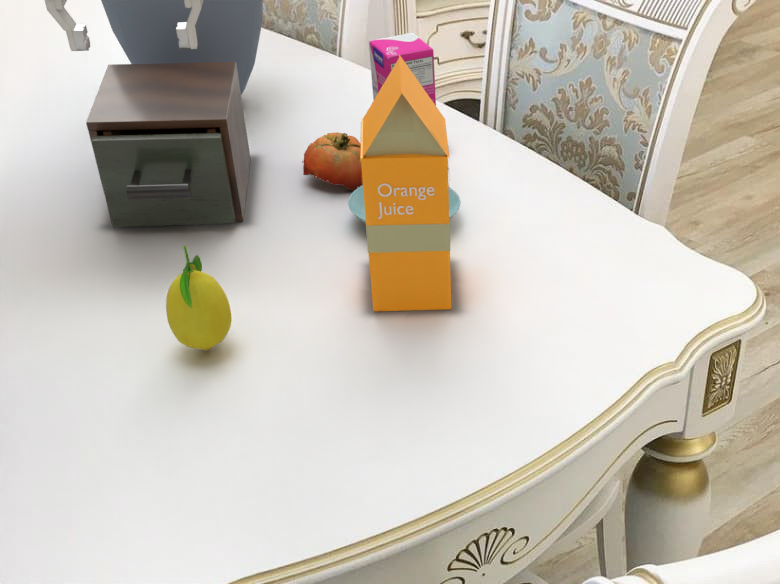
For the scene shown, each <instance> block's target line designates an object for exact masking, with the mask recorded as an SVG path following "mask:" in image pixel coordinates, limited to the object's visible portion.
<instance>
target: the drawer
mask: <svg viewBox="0 0 780 584" xmlns="http://www.w3.org/2000/svg"><path fill="white" fill-rule="evenodd" d="M103 135H104V136H93V139H92V143H91V146H92V145H93V147H92V150H93V149H94V151H93V154H94V153H95V155H94V158H95V157H96V159H95V162H96V161H97V163H96V166H97V165H98V167H97V170H98V169H99V171H98V174H99V173H100V175H99V177H100V176H101V179H100V181H101V180H102V183H101V185H102V184H103V187H102V189H103V188H104V191H103V193H104V192H105V195H104V197H105V196H106V198H105V201H106V200H107V202H106V205H107V204H108V206H107V209H108V208H109V210H108V213H109V212H110V214H109V217H110V216H111V218H110V221H111V220H112V222H111V225H112V224H113V225H112V227H113V228H120V227H121V228H122V227H123V228H124V227H156V226H183V225H184V226H185V225H213V224H214V225H216V224H235V223H236V222H235V212H234V206H233V200H232V194H231V188H230V183H229V177H228V171H227V165H226V159H225V153H224V147H223V141H222V135H221V132H220V127H213V128H173V129H133V130H104V131H103Z"/></svg>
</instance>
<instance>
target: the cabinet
mask: <svg viewBox="0 0 780 584" xmlns="http://www.w3.org/2000/svg"><path fill="white" fill-rule="evenodd" d="M96 93H97V94H96V96H95V99H94V101H93V104H92V107H91V109H90V112H89V114H88V117H87V120H86V122H85V123H86V127H87V132H88V135H89V139H90V142H91V147H92V150H93V155H94V159H95V162H96V163H95V164H96V166H97V170H98V174H99V178H100V183H101V186H102V191H103V195H104V199H105V202H106V206H107V209H108V214H109V218H110V222H111V225H112V226H113V224H112V220H111V216H110V212H109V208H108V204H107V200H106V196H105V192H104V188H103V184H102V180H101V176H100V173H99V169H98V165H97V161H96V157H95V153H94V149H93V145H92V139H93V136H104V135H103V131H104V130H133V129H173V128H213V127H220V132H221V135H222V141H223V147H224V153H225V159H226V165H227V171H228V177H229V183H230V188H231V194H232V200H233V206H234V212H235V223H236V222H244V218H245V209H246V202H247V201H246V200H247V192H248V184H249V178H250V177H249V175H250V167H251V162H252V161H251V159H252V157H251V152H250V144H249V138H248V133H247V126H246V125H247V124H246V118H245V112H244V104H243V99H242V95H241V91H240V85H239V78H238V72H237V65H236V62H213V63H162V64H131V63H122V64H121V63H120V64H119V63H118V64H117V63H115V64H113V63H112V64H107V67H106V70H105V72H104V75H103V78H102V80H101V84H100V86H99V88H98V91H97V92H96Z"/></svg>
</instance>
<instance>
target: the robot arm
mask: <svg viewBox="0 0 780 584" xmlns="http://www.w3.org/2000/svg"><path fill="white" fill-rule="evenodd" d="M67 1H68V0H44V4H45V8H46V11H47V12H48V13H49V14H50V15H51V17H52V18H53V19H54V20H55V22H56V23H57V24H58V26H60V27H61V29H62V30H63V31H64V32H65V34H66V38H67V42H68V45H69V49H70V51H71V52H89V51H90V48H91V40H90V37H89V35H87V34H88V32H89V31H88V28H87V27H88V26H87V24H86V23H77V22H76V21H75V20H74V18H73V17H72V16H71V15H70V13H69V12H68V10H67V9H66V8H65V5H66V4H67ZM184 3H185V7H186V8H191V7H192V8H191V11H190V14H189V17H188V20H187V22H179V23H178V24H177V27H176V32H177V37H178V39H179V42H178V43H179V48H180V49H197V36H196V30H195V24H196V22H197V19H198V16H199V14H200V11H201V8H202V4H203V0H184Z"/></svg>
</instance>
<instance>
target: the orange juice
mask: <svg viewBox="0 0 780 584" xmlns="http://www.w3.org/2000/svg"><path fill="white" fill-rule="evenodd" d="M447 133H448V132H447V121H446V118H445V116H444V115H443V114H442V113H441V111H440V110H439V108H438V107H437V104H436V105H435V104H434V103H433V101H432V100H431V98H430V97H429V96H428V94H427V93H426V91H425V90H424V89H423V87H422V86H421V84H420V83H419V81H418V80H417V79H416V77H415V76H414V74H413V73H412V72H411V70H410V69H409V67H408V66H407V65H406V63H405V62H404V60H403V59H402V57H401V56H400V55H399V59H398V60H397V62H396V64H395V66H394V67H393V69H392V71H391V72H390V74H389V76H388V77H387V79H386V81H385V82H384V84H383V86H382V87H381V89H380V91H379V93H378V94H377V96H376V98H375V99H374V100H373V101H372V103H371V104H370V106H369V108H368V110H367V111H366V112H365V115H364V116H363V118H361V121H360V144H361V145H360V161H361V168H362V180H363V186H362V187H363V192H364V204H365V217H366V223H365V232H366V244H367V245H366V246H367V253H368V265H369V275H370V276H369V277H370V278H369V279H370V288H371V289H370V290H371V301H372V311H373V312H400V311H401V312H404V311H438V310H439V311H441V310H452V274H451V273H452V272H451V271H452V269H451V223H450V219H449V195H450V193H449V190H450V189H449V190H448V187H449V182H451V181H450V179H449V176H451V174H450V167H449V166H450V165H449V159H450V151H449V141H448V134H447Z"/></svg>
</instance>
